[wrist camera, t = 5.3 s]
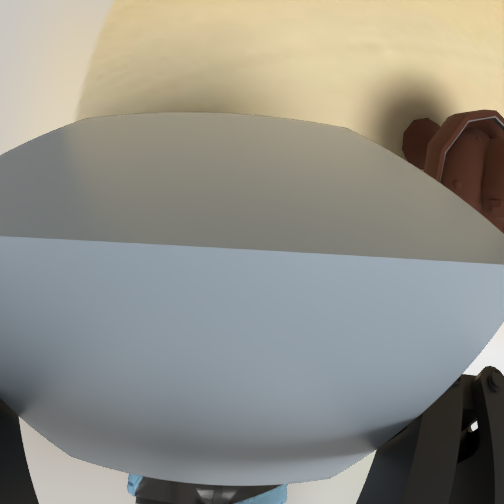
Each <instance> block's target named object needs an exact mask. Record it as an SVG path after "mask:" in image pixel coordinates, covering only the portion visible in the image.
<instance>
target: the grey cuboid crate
mask: <svg viewBox="0 0 504 504" xmlns="http://www.w3.org/2000/svg"><path fill="white" fill-rule="evenodd" d="M503 322H504V234H503V233H502V232H501V231H500V230H499V229H498V228H497V227H495V226H494V225H493V224H492V223H491V222H490V221H488V220H487V219H486V218H485V217H484V216H483V215H481V214H480V213H479V212H478V211H476V210H475V209H474V208H473V207H471V206H470V205H469V204H468V203H466V202H465V201H464V200H462V199H461V198H460V197H459V196H457V195H456V194H454V193H453V192H452V191H450V190H449V189H448V188H446V187H445V186H443V185H442V184H441V183H439V182H438V181H436V180H435V179H433V178H432V177H430V176H429V175H427V174H426V173H424V172H423V171H421V170H420V169H418V168H417V167H415V166H414V165H412V164H410V163H409V162H407V161H406V160H404V159H402V158H401V157H399V156H397V155H396V154H394V153H392V152H391V151H389V150H387V149H385V148H384V147H382V146H380V145H378V144H376V143H375V142H373V141H371V140H369V139H367V138H365V137H363V136H362V135H360V134H358V133H356V132H354V131H352V130H350V129H348V128H344V127H339V126H333V125H328V124H322V123H316V122H309V121H302V120H295V119H287V118H279V117H270V116H259V115H247V114H232V113H209V112H162V113H139V114H124V115H113V116H103V117H94V118H86V119H83V120H80V121H77V122H74V123H71V124H69V125H66V126H64V127H61V128H58V129H56V130H53V131H51V132H49V133H46V134H44V135H42V136H39V137H37V138H35V139H33V140H30V141H28V142H26V143H24V144H22V145H20V146H18V147H16V148H14V149H12V150H10V151H8V152H6V153H4V154H2V155H0V399H1V400H2V401H3V402H4V403H5V404H6V405H7V406H8V407H10V408H11V409H12V410H13V411H14V412H15V413H16V414H17V415H18V416H19V417H20V418H22V419H23V420H24V421H25V422H26V423H28V424H29V425H30V426H31V427H32V428H34V429H35V430H36V431H37V432H38V433H40V434H41V435H42V436H43V437H45V438H46V439H47V440H49V441H50V442H51V443H53V444H54V445H55V446H57V447H58V448H60V449H61V450H62V451H64V452H65V453H67V454H68V455H70V456H71V457H74V458H77V459H80V460H83V461H86V462H89V463H92V464H96V465H99V466H103V467H106V468H110V469H114V470H118V471H122V472H126V473H130V474H135V475H140V476H145V477H150V478H156V479H162V480H169V481H176V482H185V483H195V484H207V485H228V486H258V485H279V484H290V483H301V482H309V481H317V480H324V479H330V478H331V477H333V476H335V475H337V474H338V473H340V472H342V471H344V470H345V469H347V468H349V467H350V466H352V465H353V464H355V463H357V462H358V461H360V460H361V459H363V458H364V457H366V456H367V455H369V454H370V453H372V452H373V451H374V450H376V449H377V448H379V447H380V446H382V445H383V444H384V443H386V442H387V441H388V440H390V439H391V438H392V437H394V436H395V435H396V434H397V433H399V432H400V431H401V430H403V429H404V428H405V427H406V426H407V425H409V424H410V423H411V422H412V421H413V420H415V419H416V418H417V417H418V416H419V415H420V414H422V413H423V412H424V411H425V410H426V409H427V408H428V407H429V406H430V405H432V404H433V403H434V402H435V401H436V400H437V399H438V398H439V397H440V396H441V395H442V394H443V393H444V392H445V391H446V390H447V389H448V388H449V387H450V386H451V385H452V384H453V383H454V382H455V381H456V380H457V379H458V378H459V377H460V375H461V374H462V373H463V372H464V371H465V370H466V369H467V368H468V367H469V365H470V364H471V363H472V362H473V361H474V359H475V358H476V357H477V356H478V355H479V354H480V352H481V351H482V350H483V349H484V347H485V346H486V345H487V344H488V342H489V341H490V340H491V338H492V337H493V336H494V334H495V333H496V332H497V330H498V329H499V328H500V326H501V325H502V323H503Z"/></svg>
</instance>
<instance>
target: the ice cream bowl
mask: <svg viewBox="0 0 504 504" xmlns="http://www.w3.org/2000/svg"><path fill="white" fill-rule="evenodd" d="M402 150H403V152H404V154H405V157H406V159H407V161H408V162H409V163H410V164H412V165H414V166H415V167H417V168H419V169H421V170H424V173H426V174H427V175H429V176H430V177H432V178H433V179H435V180H436V181H438V182H439V183H441V184H442V185H443V186H445V187H446V188H448V189H449V190H450V191H452V192H453V193H454V194H456V195H457V196H459V197H460V198H461V199H462V200H464V201H465V202H466V203H468V204H469V205H470V206H471V207H473V208H474V209H475V210H476V211H478V212H479V213H480V214H481V215H483V216H484V217H485V218H486V219H487V220H488V221H490V222H491V223H492V224H493V225H494V226H495V227H497V228H498V229H499V230H500V231H501V232H502V233H503V234H504V118H503V117H502V116H501V115H500V114H499V113H498V112H497V111H495V110H478V111H471V112H465V113H459V114H454V115H452V116H450V117H448V118H447V119H446V121H445V122H444V123H443V125H442V126H441V127H440V126H439V125H437V124H436V123H434V122H433V121H431V120H430V119H428V118H424V119H419V120H414V121H413V122H412V123H411V125H410V126H409V127H408V129H407V130H406V131H405V132H404V138H403V147H402Z"/></svg>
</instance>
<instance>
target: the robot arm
mask: <svg viewBox="0 0 504 504" xmlns="http://www.w3.org/2000/svg"><path fill="white" fill-rule="evenodd" d="M476 421H477V423H478V428H477V429H476V430H475V431H472V430H471V425H472V424H473V423H474V422H476ZM128 480H129V481H128V485H127V489H128V492H129V493H130V494H131V495H133V496H136V504H284V503H285V502H286V500H287V485H288V484H279V485H258V486H228V485H207V484H195V483H185V482H176V481H169V480H162V479H156V478H150V477H145V476H140V475H135V474H130V473H129V477H128ZM0 504H39V503H38V499H37V496H36V494H35V491H34V487H33V484H32V481H31V477H30V473H29V469H28V465H27V461H26V457H25V452H24V447H23V442H22V436H21V431H20V424H19V417H18V415H17V414H16V413H15V412H14V411H13V410H12V409H11V408H10V407H8V406H7V405H6V404H5V403H4V402H3V401H2V400H1V399H0ZM356 504H504V376H503V375H502V373H501V372H500V371H499V370H498V369H496V368H495V367H492V366H488V367H485V368H484V369H483V370H482V371H481V372H480V373H479V374H478V375H477V376H473V375H465V374H461V375H460V377H459V378H458V379H457V380H456V381H455V382H454V383H453V384H452V385H451V386H450V387H449V388H448V389H447V390H446V391H445V392H444V393H443V394H442V395H441V396H440V397H439V398H438V399H437V400H436V401H435V402H434V403H433V404H432V405H430V406H429V407H428V408H427V409H426V410H425V411H424V412H423V413H422V414H420V415H419V416H418V417H417V418H416V419H415V420H413V421H412V422H411V423H410V424H409V425H407V426H406V427H405V428H404V429H403V430H401V431H400V432H399V433H397V434H396V435H395V436H394V437H392V438H391V439H390V440H388V441H387V442H386V443H384V444H383V445H382V446H380V447H379V448H377V451H376V454H375V457H374V459H373V462H372V465H371V468H370V471H369V473H368V476H367V479H366V482H365V484H364V486H363V489H362V491H361V494H360V496H359V498H358V501H357V503H356Z"/></svg>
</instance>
